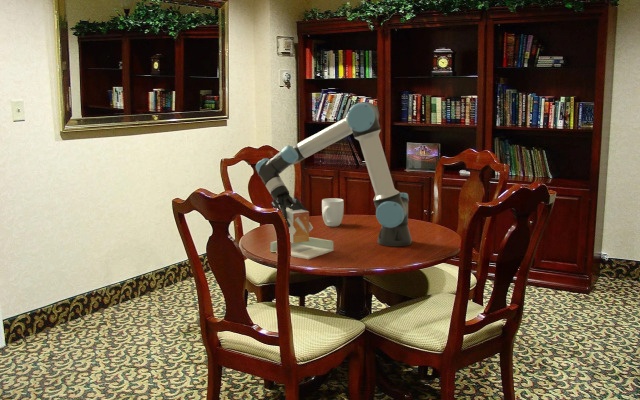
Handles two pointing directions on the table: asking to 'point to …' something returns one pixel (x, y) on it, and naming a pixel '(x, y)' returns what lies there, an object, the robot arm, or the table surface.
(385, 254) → the table surface
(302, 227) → the small box
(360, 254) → the table surface
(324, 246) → the tray
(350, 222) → the table surface
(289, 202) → the robot arm
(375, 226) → the table surface
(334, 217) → the mug
